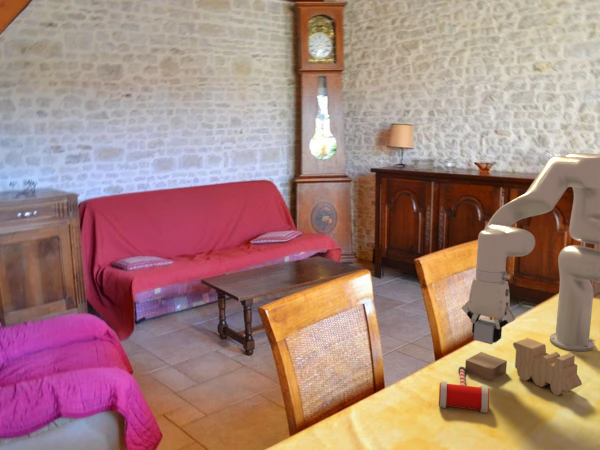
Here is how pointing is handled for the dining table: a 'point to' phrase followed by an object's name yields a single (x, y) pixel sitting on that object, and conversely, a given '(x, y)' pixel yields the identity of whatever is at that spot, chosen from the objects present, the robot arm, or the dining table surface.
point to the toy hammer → (464, 395)
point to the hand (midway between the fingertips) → (486, 337)
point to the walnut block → (485, 366)
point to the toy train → (545, 366)
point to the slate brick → (484, 330)
